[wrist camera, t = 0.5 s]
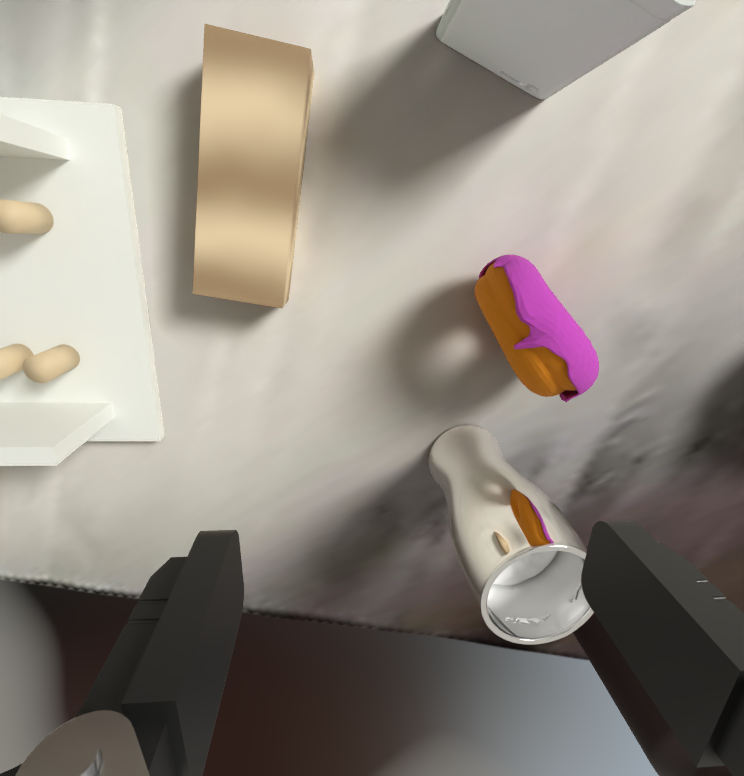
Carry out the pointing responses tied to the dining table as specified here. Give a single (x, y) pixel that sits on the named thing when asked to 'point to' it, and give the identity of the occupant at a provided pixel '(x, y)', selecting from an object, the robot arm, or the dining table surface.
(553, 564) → the beer glass
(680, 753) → the bottle
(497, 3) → the external hard drive
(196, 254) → the plank
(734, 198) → the dining table surface
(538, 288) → the donut
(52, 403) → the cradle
